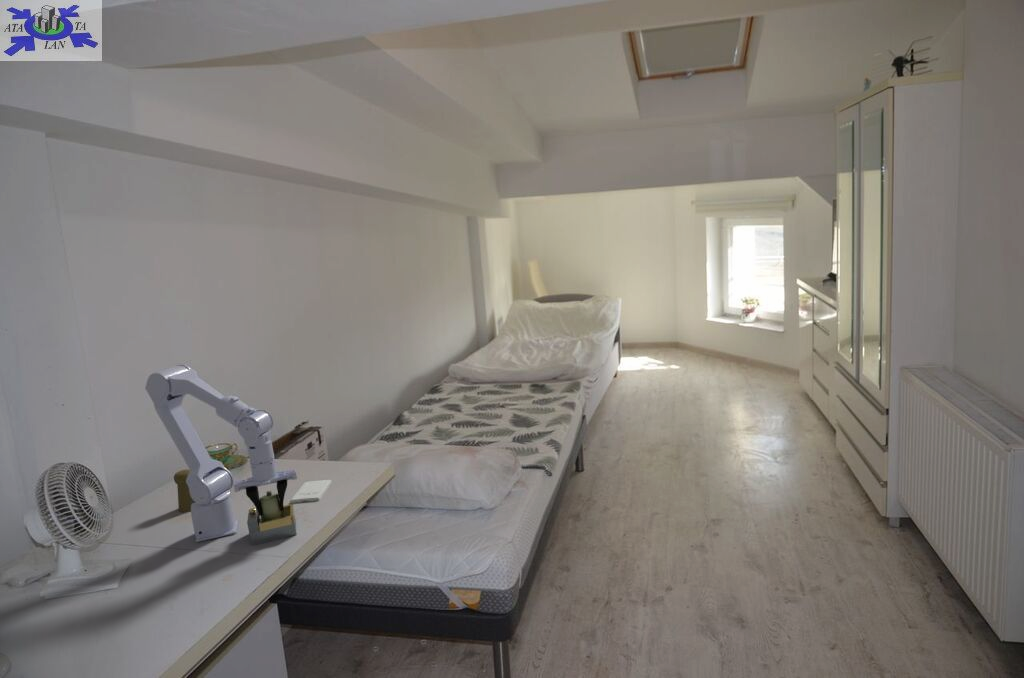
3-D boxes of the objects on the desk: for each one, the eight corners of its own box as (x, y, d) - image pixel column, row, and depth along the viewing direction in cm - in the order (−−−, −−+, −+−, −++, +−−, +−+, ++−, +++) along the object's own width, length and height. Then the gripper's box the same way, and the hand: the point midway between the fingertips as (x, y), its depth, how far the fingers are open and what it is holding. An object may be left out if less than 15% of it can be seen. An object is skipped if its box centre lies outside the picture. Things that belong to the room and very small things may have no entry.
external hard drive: (332, 484, 194) (319, 502, 182) (305, 487, 194) (290, 505, 182) (331, 479, 194) (318, 496, 181) (304, 481, 194) (289, 499, 182)
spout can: (262, 523, 161) (258, 498, 160) (264, 516, 165) (259, 492, 164) (281, 519, 162) (277, 494, 161) (282, 512, 166) (278, 488, 165)
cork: (206, 502, 189) (199, 466, 187) (194, 511, 183) (186, 474, 181) (186, 503, 189) (179, 467, 187) (174, 512, 183) (166, 476, 181)
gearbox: (251, 545, 159) (246, 519, 157) (253, 531, 166) (248, 506, 165) (296, 534, 162) (291, 509, 161) (295, 521, 169) (291, 497, 168)
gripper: (229, 471, 155) (239, 525, 157) (293, 459, 159) (302, 510, 162) (231, 462, 161) (241, 513, 164) (292, 450, 166) (301, 500, 168)
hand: (271, 511), depth 163 cm, fingers closed on spout can, 4 cm apart
